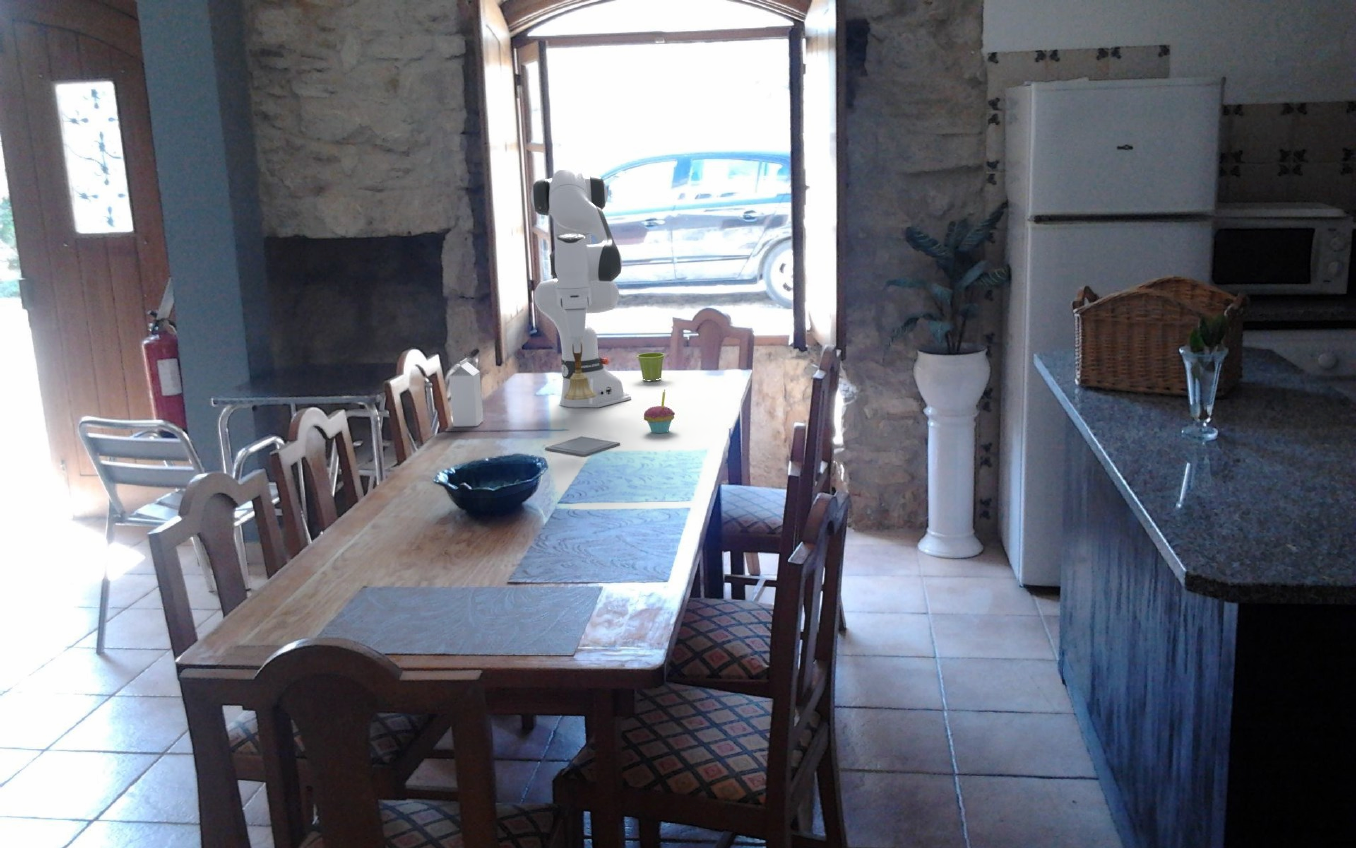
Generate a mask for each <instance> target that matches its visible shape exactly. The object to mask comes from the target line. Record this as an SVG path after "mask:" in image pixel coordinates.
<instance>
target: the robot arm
mask: <svg viewBox="0 0 1356 848" xmlns="http://www.w3.org/2000/svg"><path fill="white" fill-rule="evenodd" d="M608 195H609V194H608V187H607V186H606V183H605V182H604V179H603V178H602V177H601V176H597V175H593V174H591V175H590V176H588V175H583V174H582V172H580V171H579V170H577V169H576V168H573V167H563V168H560V169H557V171H556V172H555V173H554V174H553V175H552V177H551V178H541V179H538V180H536V181H535V182H534V183H533V184H532V188H531V191H530V201H531V205H532V207H533V208H534V209H533V210H534V211H535V212H536V213H537V215H540V216H546V217H548V216H551V219H553V222H552V223H553V239H554V250H553V251H552V252H551V253H550V254H549V258H550V259H549V260H550V261H549V262H550V270H551V271H550V275H551V276H552V277H554V278H551V279H547V280H543V281H540V282H539V283H538V285H537V286H536V288H535V290H534V300H533V301H534V303H535V306H536V307H537V309H538V310H539V311H540V312H541V313H542V314H543V315H546V317H548V319H550V320H551V322H552V323H553V324H554V326H555V327H556V329H557V331H558V335H559V338H560V347H561V354H562V355H561V356H562V357H561V359H560V360H561V361H560V365H561V375H562V388H561V389H562V390H561V397H560V402H559V405H560V406H563V407H567V408H601V407H606V406H610V405H613V404H619V403H621V402H626V401H630V400H631V399H632V396H631V395H630V394H629V393H626V392H624V387H623V384H622V381H621V380H620V378H619V377H617V376H616V375H614V374H613V373H611V372H610V371H608V369H606V368H604V365H605V366H608V365H610V359H609V358H607V357H603V358H601V357H600V356H599V350H598V349H599V348H598V336H597V332H596V331H595V329H593V328H592V327H590V326H588V325H586V319H587V318H586V317H587V314H599V313H605V312H608V311H613V310H614V309H615V308H616V307H617V304H618V302H619V299H620V290H619V288H618V285H617V284H616V282H615V279H617V278H618V277H619V275H620V274H621V273H622V266H623V260H622V256H621V253H620V250H619V248H618V246H617V244H616V242H615V240H614V238H613V234H612V232H611V229H610V226H609V223H608V221H607V218H606V216H605V214H604V212H603V211H602V210H603V209H604V208H605V207H606V203H607V201H608ZM592 236H593V237H594V238H595V240H596V243H595V244H594V243H593V244H592ZM581 343H582V357H581V368H582V370H581V371H582V374H584V375H586V376H587V379H588V383H589V386H590V388H591V390H592V391H593V392H594V393H595V394H596V396H595V397H593V398H589V399H583V400H569V399H565V398H564V396H565V394H566V393H567V392H568V390H569V386H570V377H571V376H573V375H574V374H575V359H574V356H573V350H572V345H573V346H574V353H580V352H581Z"/></svg>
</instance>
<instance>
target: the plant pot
mask: <svg viewBox="0 0 1356 848" xmlns="http://www.w3.org/2000/svg"><path fill="white" fill-rule="evenodd" d="M664 357H665V353H663V352H646V353H640V354H637V355H636V358H637V359H638V362H639V366H640V369H641V375H642V380H643V379H645V380H653V381H654V380H656V379H659V378H661V379H662V372H663V371H662V370H663V362H664Z"/></svg>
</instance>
